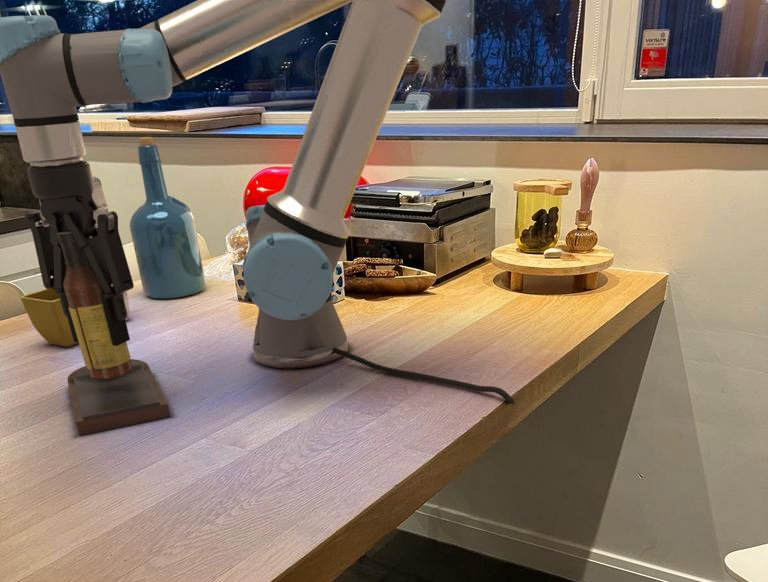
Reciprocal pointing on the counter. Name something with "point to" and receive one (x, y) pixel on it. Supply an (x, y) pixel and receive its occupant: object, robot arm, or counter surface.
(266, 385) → the counter surface
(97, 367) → the sauce bottle
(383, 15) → the robot arm
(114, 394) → the board
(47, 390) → the counter surface
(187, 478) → the counter surface
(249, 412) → the counter surface
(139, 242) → the wine bottle
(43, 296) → the flower pot
